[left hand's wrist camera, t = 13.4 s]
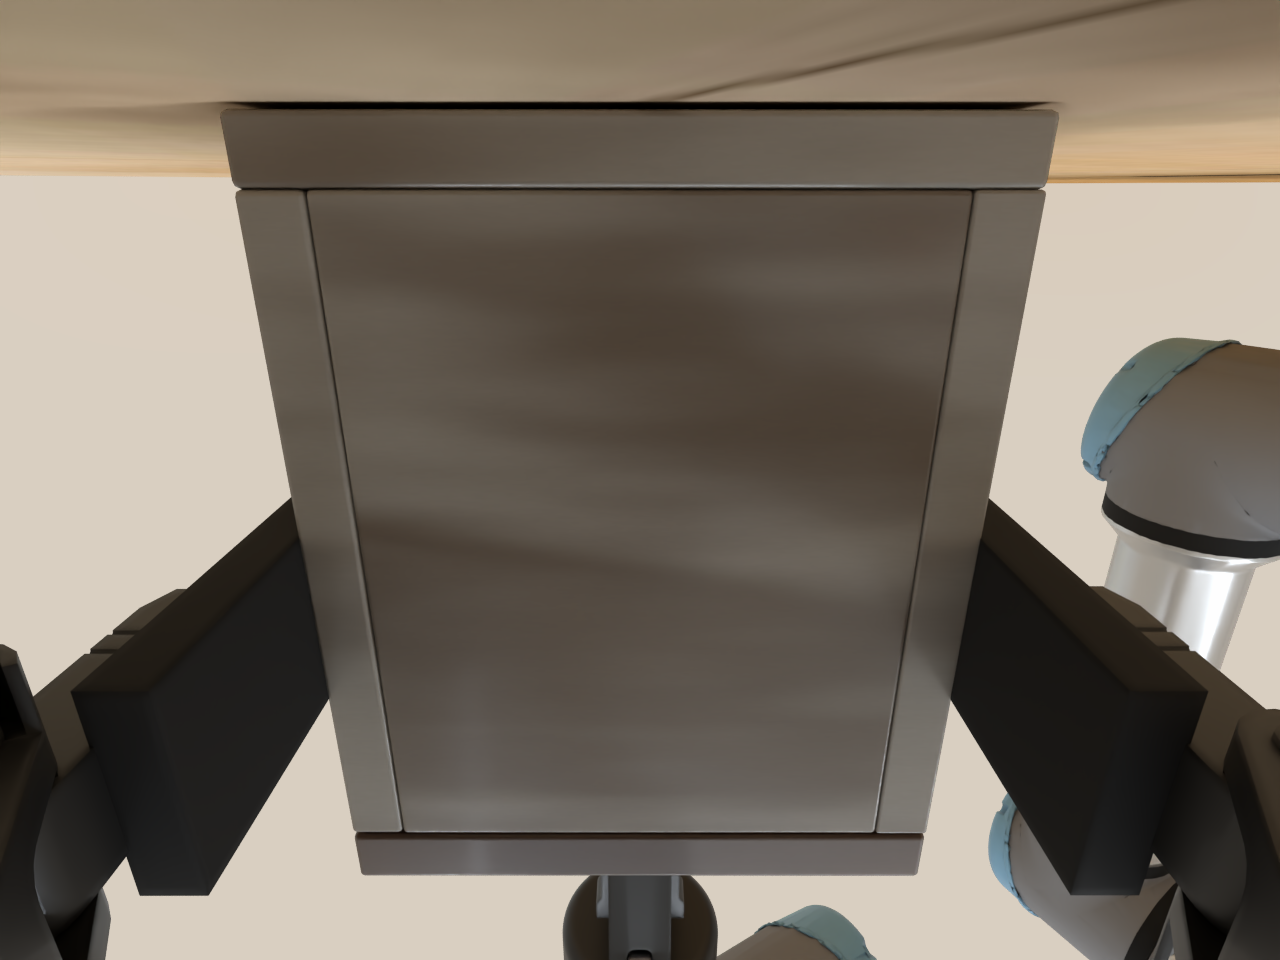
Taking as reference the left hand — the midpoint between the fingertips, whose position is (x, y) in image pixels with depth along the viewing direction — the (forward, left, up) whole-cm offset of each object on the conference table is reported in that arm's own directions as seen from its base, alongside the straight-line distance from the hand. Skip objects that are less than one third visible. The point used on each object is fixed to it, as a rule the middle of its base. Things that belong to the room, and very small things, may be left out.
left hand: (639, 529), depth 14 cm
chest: (+5, -2, -7) cm, 9 cm away
